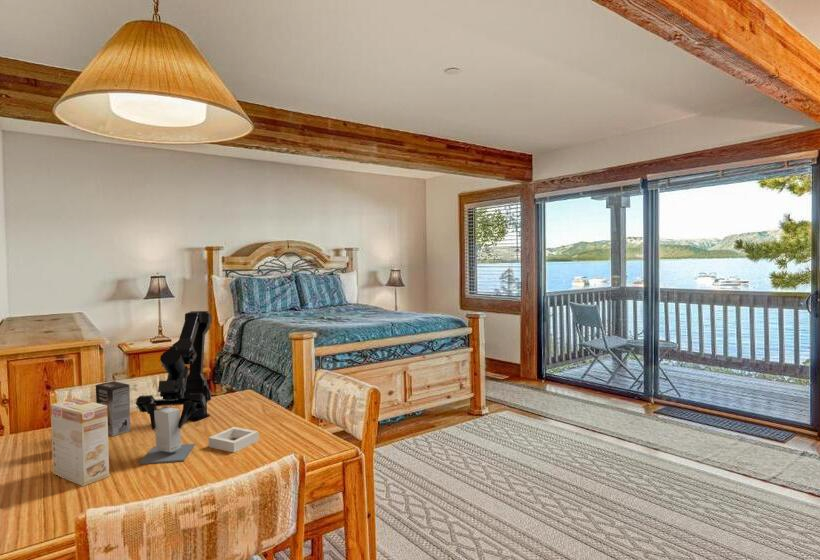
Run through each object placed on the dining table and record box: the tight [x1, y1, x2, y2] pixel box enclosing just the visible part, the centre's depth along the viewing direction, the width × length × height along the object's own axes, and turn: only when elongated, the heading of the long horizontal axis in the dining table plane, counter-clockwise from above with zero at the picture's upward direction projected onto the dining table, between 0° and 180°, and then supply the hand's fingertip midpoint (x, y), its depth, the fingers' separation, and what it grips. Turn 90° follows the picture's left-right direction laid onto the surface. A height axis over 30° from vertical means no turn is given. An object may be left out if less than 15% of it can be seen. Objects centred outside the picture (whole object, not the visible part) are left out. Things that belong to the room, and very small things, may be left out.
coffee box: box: [95, 380, 131, 437], centre depth 163 cm, size 9×6×16 cm
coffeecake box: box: [50, 398, 111, 487], centre depth 131 cm, size 15×7×20 cm, turn 61°
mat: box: [138, 443, 196, 465], centre depth 145 cm, size 12×12×1 cm
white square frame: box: [208, 426, 260, 454], centre depth 153 cm, size 10×10×3 cm
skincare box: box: [154, 406, 182, 452], centre depth 145 cm, size 6×4×12 cm
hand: (166, 428), depth 143 cm, fingers closed on skincare box, 7 cm apart
